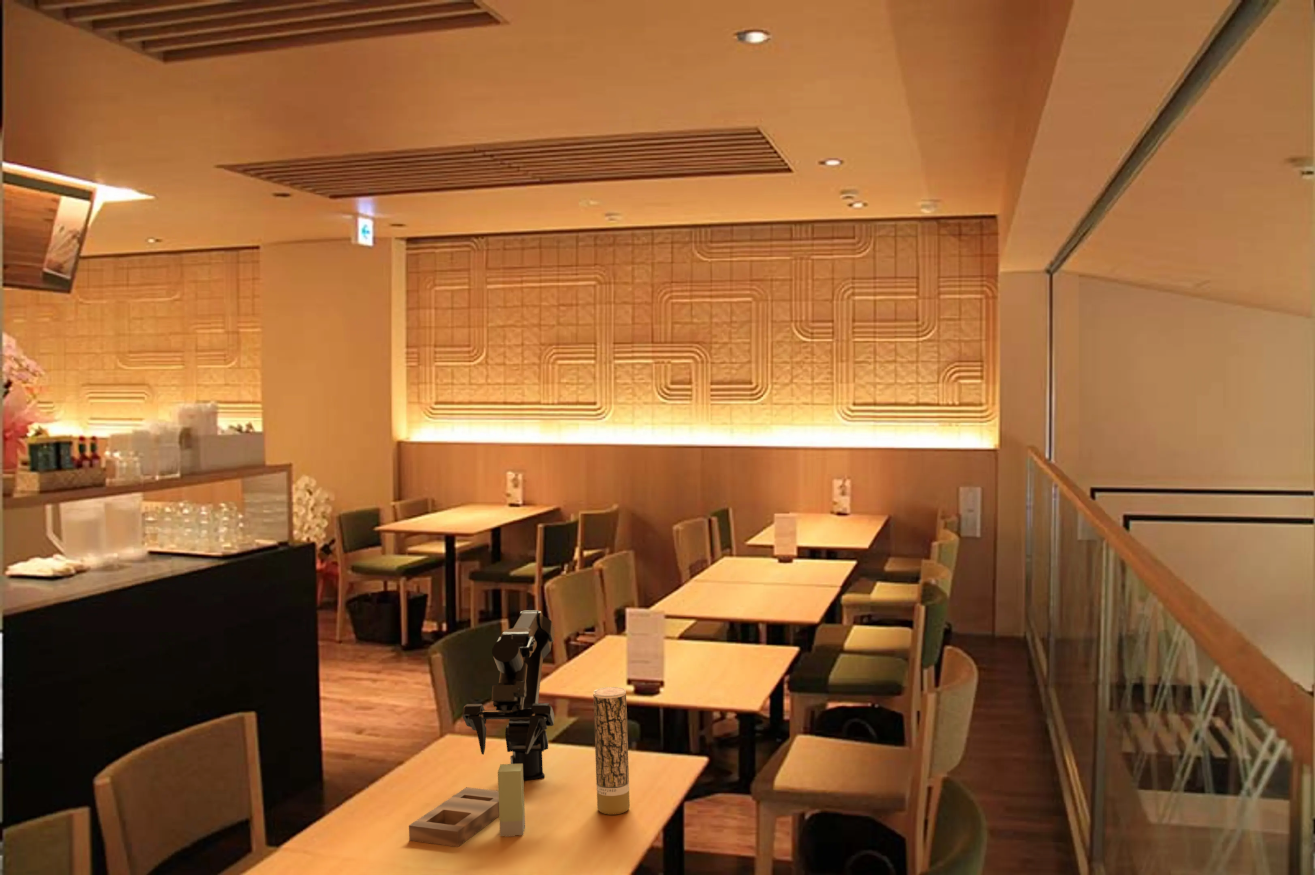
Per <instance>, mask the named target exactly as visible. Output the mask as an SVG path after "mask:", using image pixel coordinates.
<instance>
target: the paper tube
mask: <svg viewBox="0 0 1315 875" xmlns="http://www.w3.org/2000/svg"><path fill="white" fill-rule="evenodd" d="M626 691H627V690H626V689H625V688H622V687H617V686H611V687H610V686H609V687H608V686H607V687H602V688H601V687H600V688H597V689H595V690H593V718H594V719H593V721H594V722H593V723H594V746H595V748H594V750H595V777H596V778H595V780H596V783H595V784H596V801H597V802H596V805H597V807H596V808H597V810H598V811H599V812H600V813H602V814H604V815H620V814H623V813H626V812H627V811H628V810H629V808H630V806H631V804H630V802H631V801H630V775H629V774H630V773H629V770H630V769H629V742H628V740H629V739H628V712H627V710H628V709H627V692H626Z"/></svg>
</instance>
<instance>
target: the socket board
mask: <svg viewBox="0 0 1315 875" xmlns="http://www.w3.org/2000/svg"><path fill="white" fill-rule="evenodd" d="M498 817H499V794H498V790H495V789H485V788H478V787H477V788H476V787H467V786H466V787H465V788H463V789H461V790H460V791H458V792H457V793H456V794H454V795H452V796H451V797H450V798H448V799H446V800H444V801H443V802H442V803H441V804H439V805H437V806H436V807H434V808H433V809H431V810H429V811H428V812H427V813H426V814H424V815H423V816H421V817H419V818H418V819H417V820H414V821H413V822H412V823H410V824H409V825H408V835H409V836H408V839H409V841H411V842H419V843H426V844H434V845H439V846H448V847H449V846H450V847H456V848H458V847H460V846H462V844H464V843H465V842H466V841H468V840H470V839H471V838H472V837H473V836H475V835H476V834H477V833H478V832H480V831H482V830H483V829H484V828H485V827H486V826H488V825H489V824H491V822H493V821H495V820H496V819H497V818H498Z"/></svg>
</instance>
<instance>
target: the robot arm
mask: <svg viewBox="0 0 1315 875" xmlns="http://www.w3.org/2000/svg"><path fill="white" fill-rule="evenodd" d="M519 612H520V613H519V616H518V619H517V621H516V623H515V624H514V626H513V627H512V628H509V629H505V630H504V631H503V632H502V633H501V634H500V636H499V637H498V638H497V641H496V643H495V644H493V647H492V649H491V654H492V657H493V659H494V662H495V664H496V667H497V670H498V671H499V680H498V683H497V685H492V691H491V701H492V705H493V707H494V708H495V709H485V707H484V705H483V704H482V703H466V704H465V705H464V706H463V708H462V712H461V717H462V718H463V721H464V722H465V725H466V727H470V728H471V730H472V731H476V734H477V739H478V744H479V748H480V753H481V755H485V752H486V743H487V742H486V741H487V726H486V723H487V720H508V724H507V725H506V726H505V732H504V733H505V734H504V736H505V744H506V749H507V750H506V752H507V753H510V752H512V755H510V758H509V760H510V764H523V781H529V780H535V779H541V778H545V776H546V774H545V773H544V768H543V765H544V764H543V752H544V751H547V750H549V738H548V735H547V729H548V727H552V726H554V724H555V713H554V710H553V707H552V705H551V704H550V703H549V702H542V703H541V702H539V700H540V697H539V696H540V689H541V688H540V687H541V680H542V679H541V678H542V672H543V671H542V670H543V660H544V659H545V658H546V657H547V656H548V654H550V652H551V648H552V643H553V642H554V641H555V627H554V625H553V621H552V620H551V619H549V618H548V617H546V616H544V615H543V612H542V611H541V610H539V609H532V610H531V609H529V610H526V609H525V610H522V611H519Z"/></svg>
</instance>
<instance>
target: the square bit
mask: <svg viewBox="0 0 1315 875" xmlns="http://www.w3.org/2000/svg"><path fill="white" fill-rule="evenodd" d="M497 789H498V790H497V791H498V794H499V816H498V817H499V837H500V836H505V837H516V836H515V835H523V836H524V833H523V832H525V830H524V829H526V816H525V815H526V813H525V792H524V791H525V786H524V780H523V764H511V763H505V764H504V763H503V764H501V763H500V765H499V767H498V770H497Z"/></svg>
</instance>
